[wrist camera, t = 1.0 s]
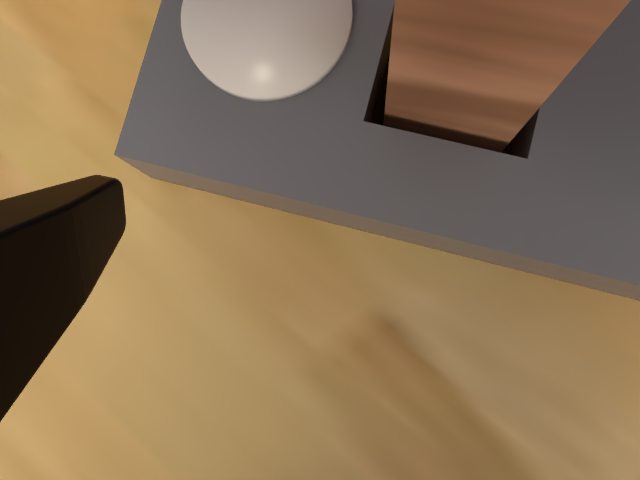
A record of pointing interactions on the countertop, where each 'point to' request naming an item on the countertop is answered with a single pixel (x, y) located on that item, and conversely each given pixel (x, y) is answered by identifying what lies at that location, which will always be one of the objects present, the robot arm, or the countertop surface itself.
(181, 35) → the holder block
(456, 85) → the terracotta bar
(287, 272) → the countertop surface
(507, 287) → the countertop surface
